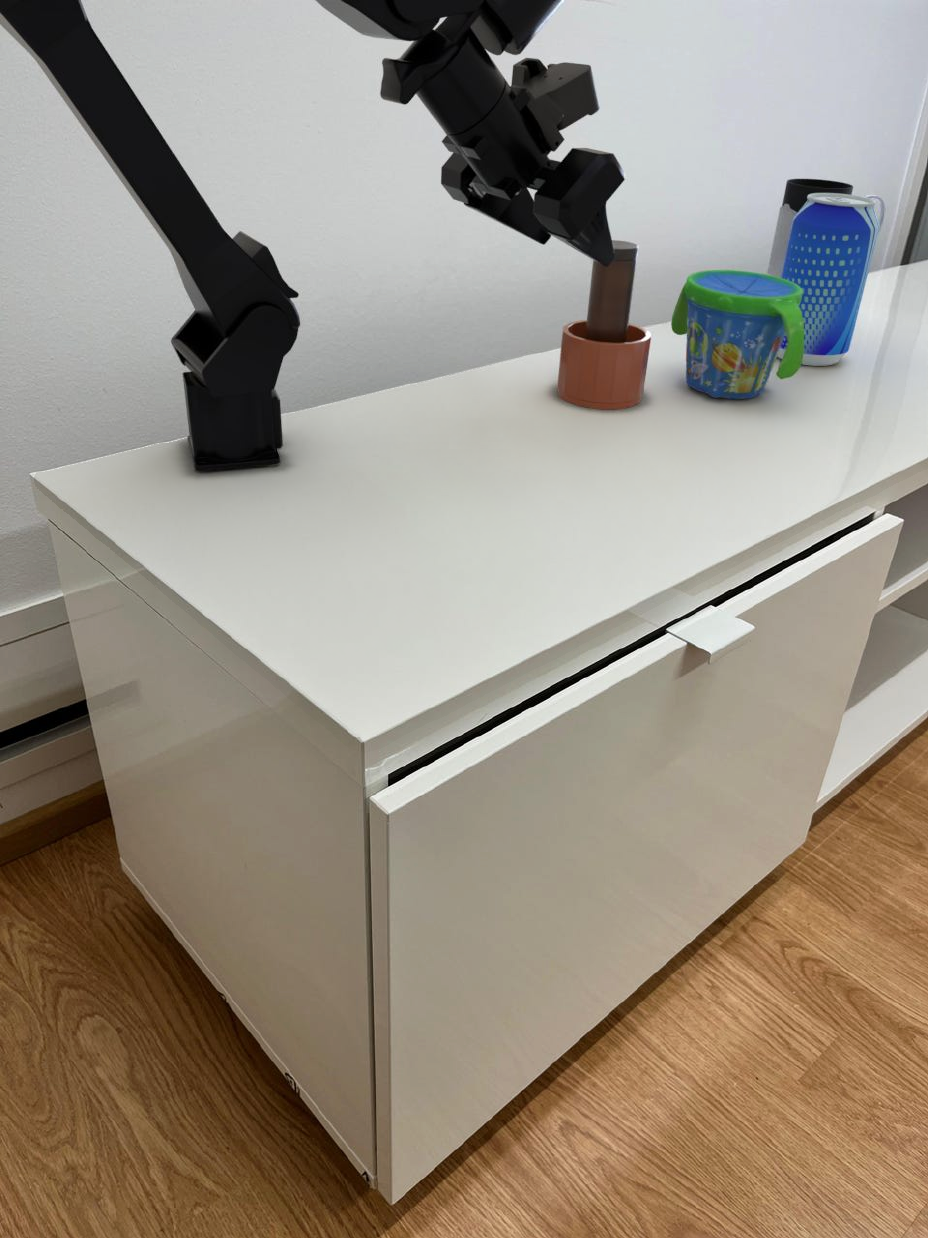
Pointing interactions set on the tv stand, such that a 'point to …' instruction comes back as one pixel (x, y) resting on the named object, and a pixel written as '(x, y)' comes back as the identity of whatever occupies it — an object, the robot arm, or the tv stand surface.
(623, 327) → the brown thermos bottle
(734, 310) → the snack cup
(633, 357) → the terracotta cup
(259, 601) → the tv stand surface
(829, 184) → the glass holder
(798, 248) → the beer can
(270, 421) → the robot arm
